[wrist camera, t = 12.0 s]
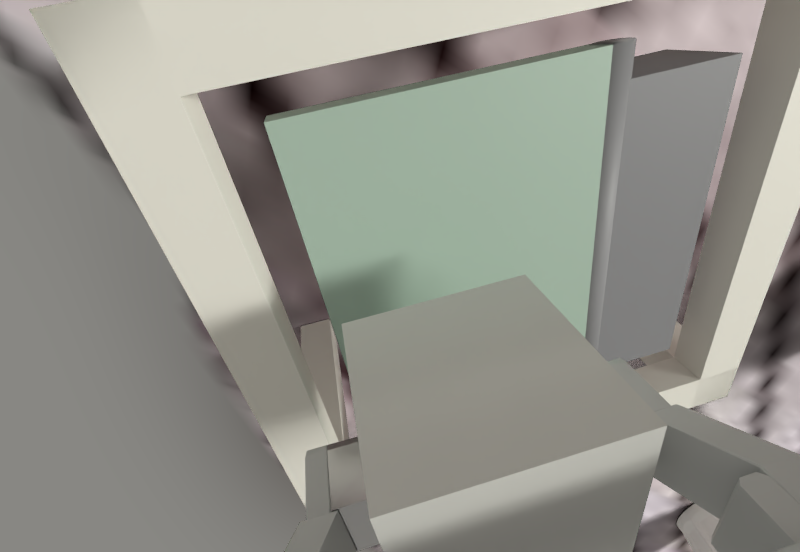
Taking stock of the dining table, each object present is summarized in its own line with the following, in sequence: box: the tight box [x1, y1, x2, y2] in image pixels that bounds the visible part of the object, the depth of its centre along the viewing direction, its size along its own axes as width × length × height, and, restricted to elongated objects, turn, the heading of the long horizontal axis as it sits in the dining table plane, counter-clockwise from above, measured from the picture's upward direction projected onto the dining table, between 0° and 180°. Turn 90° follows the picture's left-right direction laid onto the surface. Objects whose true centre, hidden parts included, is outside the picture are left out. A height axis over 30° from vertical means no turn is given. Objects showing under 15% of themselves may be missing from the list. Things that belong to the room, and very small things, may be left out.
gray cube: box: [341, 275, 667, 552], centre depth 10 cm, size 5×5×5 cm
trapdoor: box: [264, 38, 743, 374], centre depth 16 cm, size 14×14×3 cm
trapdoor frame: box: [29, 0, 800, 507], centre depth 20 cm, size 21×20×13 cm
